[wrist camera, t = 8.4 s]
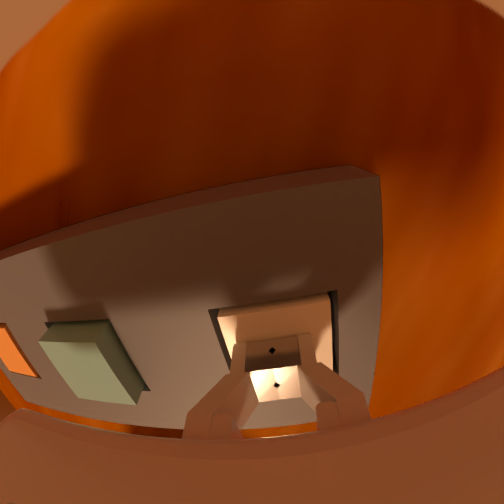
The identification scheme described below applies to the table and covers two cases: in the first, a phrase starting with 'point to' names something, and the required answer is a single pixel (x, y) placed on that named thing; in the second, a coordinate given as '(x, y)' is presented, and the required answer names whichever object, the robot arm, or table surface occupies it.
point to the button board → (201, 287)
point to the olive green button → (93, 361)
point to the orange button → (14, 353)
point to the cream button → (281, 322)
